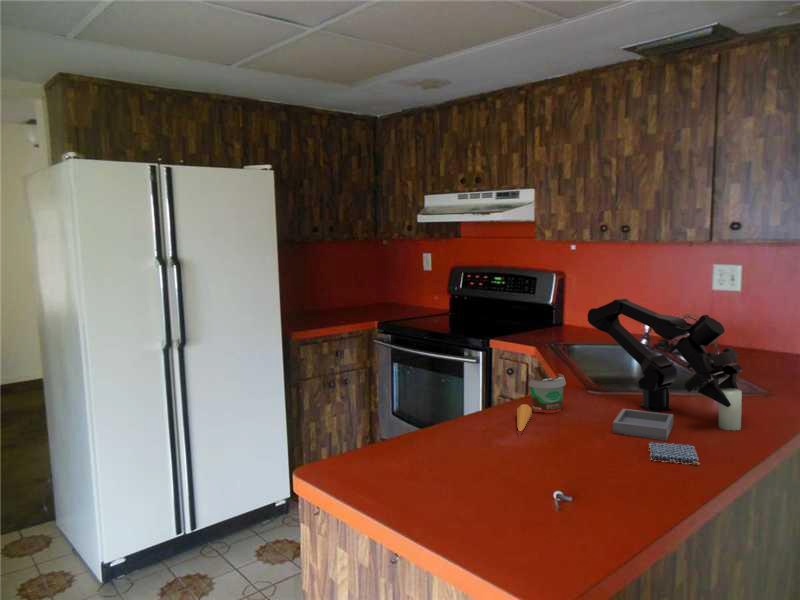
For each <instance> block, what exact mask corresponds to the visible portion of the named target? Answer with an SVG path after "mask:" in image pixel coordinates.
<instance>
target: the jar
mask: <svg viewBox="0 0 800 600" xmlns="http://www.w3.org/2000/svg"><path fill="white" fill-rule="evenodd" d="M721 390H722V392H723V393H724V394H725V396H726V397H727V399H728V400H729V402H730V404H731V406H729V407H726V406H724V405H722V404H721V403H719V402H718V423H717V424H718V425H717V426H718V428H720V429H722V430H725V431H730V430H732V431H734V432H735V431H736V430H737V431H740V430H741V429H742V403H743V402H742V400H743V397H742V396H743V395H742V394H743V391H742V390H740V389H739V388H738V389H734V388H721Z"/></svg>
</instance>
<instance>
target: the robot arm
mask: <svg viewBox="0 0 800 600" xmlns="http://www.w3.org/2000/svg"><path fill="white" fill-rule="evenodd" d="M621 315H622V316H625V317H627V318H630V319H632V320H634V321H635V322H638V323H640V324H643V325H645V326H647V327H650V328H651V329H652V330H653V332H654V333H655V335H658V336H660V337H661V338H662V339H664V340H666V341H670V340H675V339H676V340H677V339H678V340H677V341H676V342H674V341H673V342H671V343H670V348H669V353H671V354H673V353H677V352H678V353H679V354H680V355H681V357H682V358H683V360H684V361H685V362H686V363H687V365H686V368H687V369H688V370H692V371H693V372H694V374H693V375H692V376H691V377H689V378H688V379H687V380H686V381H685V382H684V388H685V390H686V391H687V392H688V394H691V393H693V392H697V393H698V394H701V395H703V396H706V397H707V398H709V399H712V400H713V401H715V402H717V403H718V404H719V403H721V404H722V405H724V406H726V407H729V406H731V404H730V402H729V400H728V399H727V397H726V396H725V394H724V393H723V392H722V390H721V388H734V389H738V390H739V388H738V385H737V378H738V377H737V376H738V375H739V373H741V372H742V371H743V370H744V369H743V368H742V367H741V365H740V364H739V363H737V362H738V361H739V360H738V357H739V352H737V351H736V349H734V348H733V347H732V346H730V347H727V348H724V349H722V352H721V353H717V354H715V353H714V352H713V351H709V352H707V350H706V349H705V348H704V346H705V347H709V346H710V345H712V344H713V343H714V342H715V341H716V340H717V339H718V338H719V337H721V336H722V335H724V333H726V331H725V328H724V325H723V324H722V323H721V322H719V321H718V320H716V319H715V318H712V317H710V316H709V315H708V314H703V315H701V316H700V317H699V318H698V320H696V322H694V323H690V322H688V321H686V319H684V318H682V317H679V316H676V315H667V314H662V313H661V314H660V313H657V312H655V311H653V310H652V309H648V308H646V307H644V306H642V305H639V304H637V303H634V302H633V301H630V300H629V299H627V298H625V297H624V298H619V299H614V300H612V301H610V302H609V303H606V304H604V305H602V306H599V307H594V308H591V309H589V310H588V312H587V316H586V317H587V322H588V323H589V325H591V326H592V327H593V328H595V329H596V330H598V331H600V332H603V333H606V334H607V335H608V336H609V337H611V339H613V340H614V341H615V342H616V343H617V344H618V345H619V346H620V347H621V348H622V349H623V350H624V351H625V352H626V353H627V354H628V355H629V356H630V357H631V358H632V359H633V360H634V361H635V362H637V363H638V364H639V366H640V368H641V373H642V375H643V377H641V378H640V379H639V380H638V381H637V382H638V386H639V388H640V389H641V390H642V403H639V406H640V407H642V408H643V409H645V410H648V412H659V411H671V410H672V407H670V403H671V402H670V397H671V396H670V395H671V394H670V392H669V388H670V387H672V385H673V383H674V382H675V381H676V379H677V378H678V372H677V371H678V369H677V368H676V366H675V365H674V364H675V362H672V361H671V360H670V359H669V358H668V357H667V356H666V355H665V354H659V355H656V354H653V353H652V352H651V351H650V350H649V349H648V348H647V347H646V346H644V344H643V343H641V342H640V341H639V339H637V338H636V337H635V336H634V335H633V334H632V333H630V332H629V331H628V330H627V328H625V327H624V326H623V325H622V324H621V322H620V318H619V317H620V316H621ZM686 335H687V336H686ZM697 388H699V390H697ZM743 402H744V400H743V399H742V403H743Z"/></svg>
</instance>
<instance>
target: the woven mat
mask: <svg viewBox="0 0 800 600" xmlns="http://www.w3.org/2000/svg"><path fill="white" fill-rule="evenodd" d="M678 443H679V442H678ZM678 443H674V442H672V443H670V442H669V443H667V441H666V442H661V443H660V441H657V442H656V441H655V442H653V441H652V440H651V441H650V442H649V443H648V446H649V447H647V448H648V451H650V454H649V460H650V461H651V460H653V461H652V462H655V461H657V463H659V462H658V461H661V462H660V463H666V462H670V463H671V464H678V463H682V464H681V465H689V464H693V465H692V466H699V465H700V464H701V463H700V462H699V456H698V452H697V450H696V449H695V446H693V445H692V444H690V445H689V443H686V444H684V443H683V444H681V443H679V444H678ZM649 448H650V450H649ZM652 457H653V458H652ZM655 457H656V458H655ZM650 458H651V459H650ZM656 459H657V460H656ZM658 459H660V460H658ZM663 459H664V460H663ZM667 460H668V461H667ZM678 461H679V462H678ZM690 462H691V463H690ZM670 463H669V464H670Z"/></svg>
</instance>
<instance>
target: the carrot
mask: <svg viewBox="0 0 800 600" xmlns="http://www.w3.org/2000/svg"><path fill="white" fill-rule="evenodd" d="M516 414H517V415H516V418H517V419H516V420H517V421H516V423H517V424H516V426H517V427H516V428H518V430H519V431H522V430H523V429H524V428H525V426H526V424H527V422H528V421H530V420H531V418H532V416H533V408H532V407H531V406H529V404H525V403H524V404H521V405H520V406H518V407H517V408H516ZM531 415H532V416H531ZM530 417H531V418H530ZM529 419H530V420H529ZM528 423H529V422H528ZM527 425H528V424H527ZM526 427H527V426H526ZM525 429H526V428H525Z"/></svg>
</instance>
